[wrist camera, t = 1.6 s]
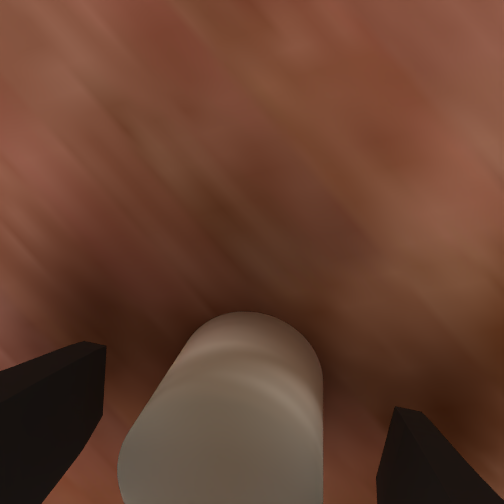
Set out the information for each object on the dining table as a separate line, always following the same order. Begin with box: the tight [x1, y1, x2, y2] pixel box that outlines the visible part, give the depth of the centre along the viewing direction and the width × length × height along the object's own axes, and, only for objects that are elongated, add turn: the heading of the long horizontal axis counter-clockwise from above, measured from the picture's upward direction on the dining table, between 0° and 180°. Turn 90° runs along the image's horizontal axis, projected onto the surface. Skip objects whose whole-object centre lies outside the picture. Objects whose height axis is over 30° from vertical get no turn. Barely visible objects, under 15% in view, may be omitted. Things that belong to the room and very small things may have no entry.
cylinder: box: [117, 311, 323, 504], centre depth 10 cm, size 4×4×4 cm
